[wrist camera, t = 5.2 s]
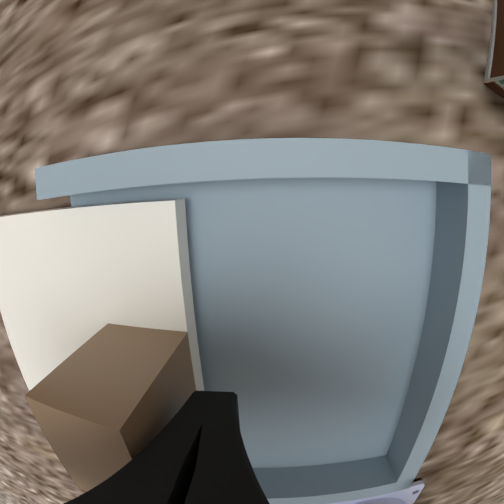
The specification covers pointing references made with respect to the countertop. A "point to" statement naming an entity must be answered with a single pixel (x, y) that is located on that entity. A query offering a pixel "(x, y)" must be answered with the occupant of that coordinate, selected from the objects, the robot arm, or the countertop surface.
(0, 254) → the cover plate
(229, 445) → the robot arm
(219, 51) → the countertop surface
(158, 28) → the countertop surface
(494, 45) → the food container
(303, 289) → the open box
